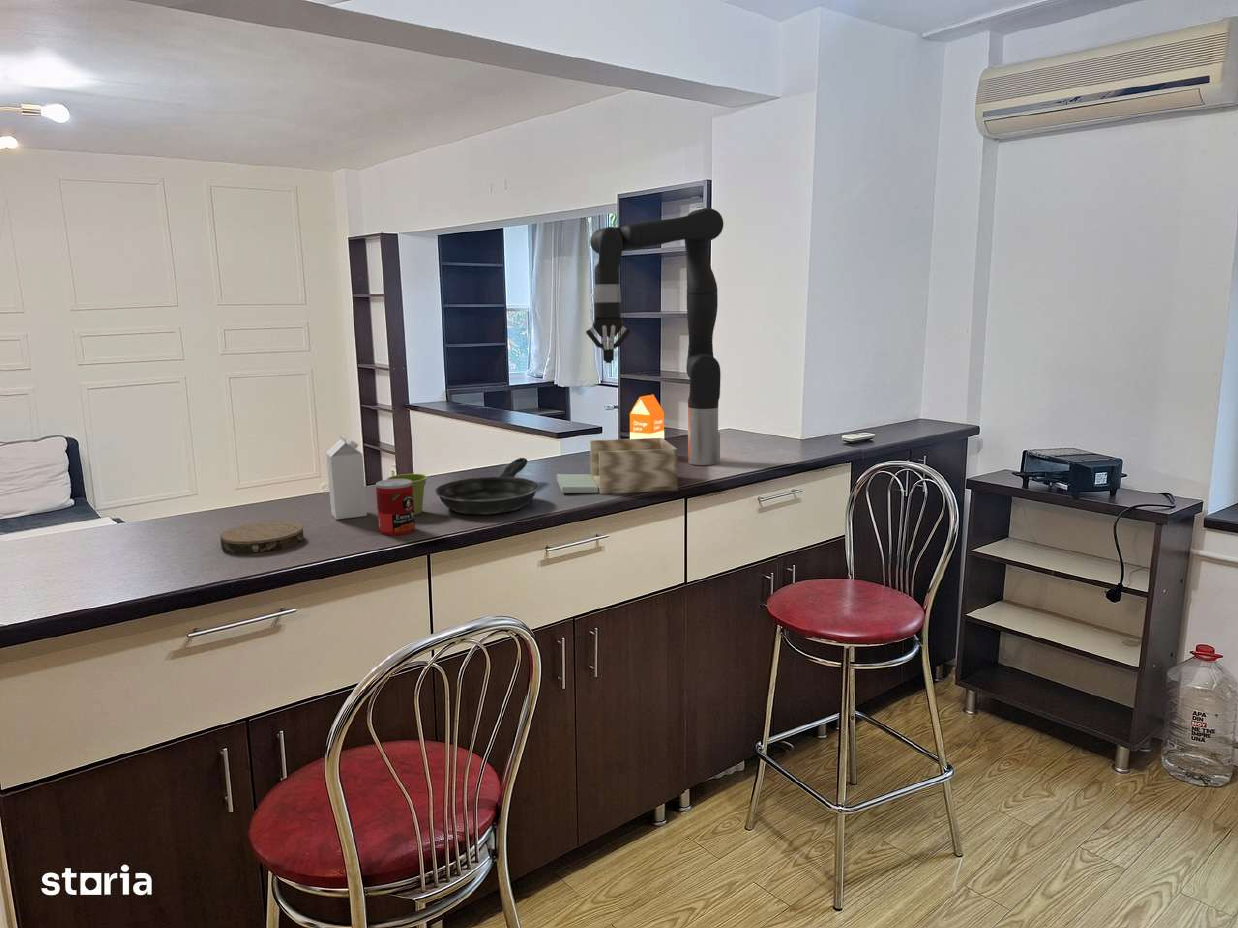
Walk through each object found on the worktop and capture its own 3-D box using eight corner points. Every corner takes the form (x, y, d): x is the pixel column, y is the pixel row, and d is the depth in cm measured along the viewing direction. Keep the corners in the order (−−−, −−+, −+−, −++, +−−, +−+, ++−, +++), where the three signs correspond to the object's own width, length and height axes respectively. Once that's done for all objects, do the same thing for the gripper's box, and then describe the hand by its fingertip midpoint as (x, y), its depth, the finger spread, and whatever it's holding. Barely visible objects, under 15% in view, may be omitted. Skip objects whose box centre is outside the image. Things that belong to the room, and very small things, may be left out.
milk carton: (335, 520, 189) (329, 439, 186) (331, 514, 195) (324, 435, 192) (367, 516, 192) (361, 436, 189) (361, 510, 199) (355, 433, 195)
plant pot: (437, 512, 195) (435, 477, 194) (402, 520, 189) (400, 483, 187) (415, 506, 202) (412, 472, 200) (381, 513, 195) (378, 478, 193)
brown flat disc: (319, 536, 177) (317, 522, 177) (272, 557, 162) (271, 543, 162) (255, 532, 181) (253, 519, 180) (203, 553, 166) (202, 539, 165)
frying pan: (520, 521, 186) (519, 492, 185) (418, 517, 191) (416, 489, 190) (571, 482, 228) (570, 458, 227) (486, 479, 233) (485, 456, 232)
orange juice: (664, 456, 264) (664, 394, 260) (650, 461, 257) (650, 397, 253) (643, 454, 268) (643, 393, 264) (629, 458, 261) (628, 396, 257)
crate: (662, 475, 234) (661, 437, 232) (677, 490, 215) (677, 449, 213) (591, 478, 231) (590, 440, 229) (600, 494, 212) (599, 452, 210)
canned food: (397, 537, 174) (393, 487, 172) (371, 532, 178) (367, 483, 176) (423, 529, 180) (420, 480, 178) (397, 524, 185) (394, 477, 183)
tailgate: (590, 474, 229) (556, 474, 228) (598, 487, 213) (562, 487, 211) (590, 479, 230) (556, 479, 228) (598, 492, 213) (562, 492, 212)
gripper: (628, 301, 235) (629, 361, 239) (582, 301, 233) (584, 362, 237) (632, 300, 228) (633, 363, 231) (585, 301, 226) (586, 364, 229)
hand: (608, 362), depth 234 cm, fingers closed
